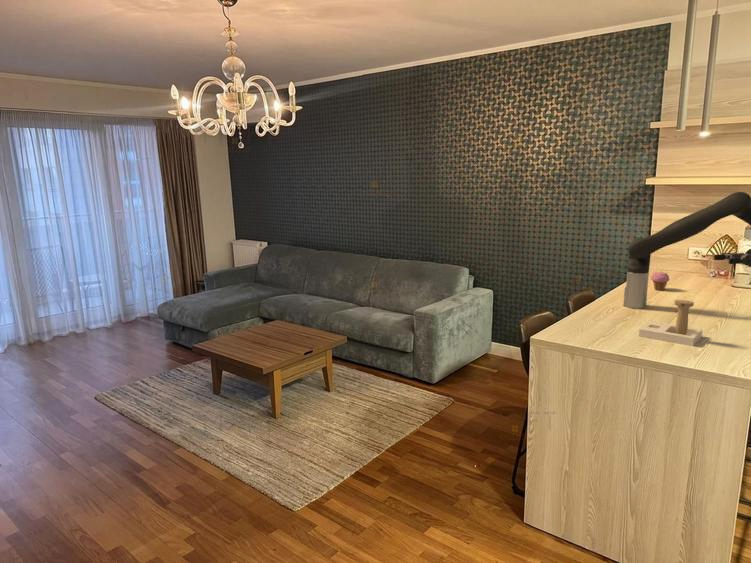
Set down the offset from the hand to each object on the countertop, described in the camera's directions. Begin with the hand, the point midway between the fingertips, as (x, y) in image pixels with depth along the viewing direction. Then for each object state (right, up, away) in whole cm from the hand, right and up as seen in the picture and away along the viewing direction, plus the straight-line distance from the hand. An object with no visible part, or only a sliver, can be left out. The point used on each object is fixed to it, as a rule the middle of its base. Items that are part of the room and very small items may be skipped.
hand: (721, 259), depth 199 cm
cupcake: (+18, -13, +76) cm, 80 cm away
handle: (-16, -32, 0) cm, 35 cm away
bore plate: (-19, -31, +3) cm, 36 cm away
